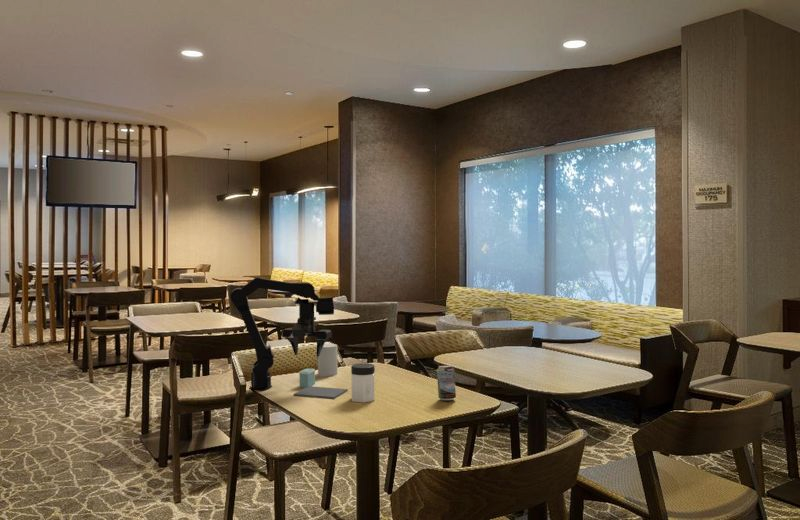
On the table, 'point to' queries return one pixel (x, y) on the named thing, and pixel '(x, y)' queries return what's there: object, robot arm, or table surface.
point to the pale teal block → (307, 377)
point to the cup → (328, 360)
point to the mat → (320, 392)
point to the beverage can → (446, 382)
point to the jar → (362, 382)
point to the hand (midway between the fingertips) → (306, 355)
